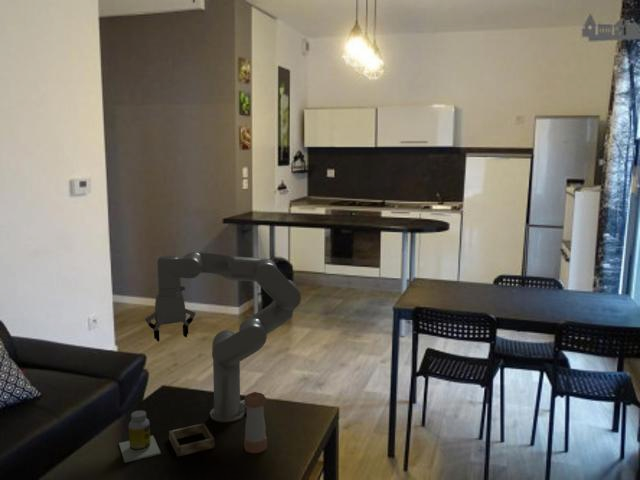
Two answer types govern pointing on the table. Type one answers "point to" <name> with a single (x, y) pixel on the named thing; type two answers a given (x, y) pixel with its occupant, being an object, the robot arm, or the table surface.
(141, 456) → the ceramic tile
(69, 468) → the table surface
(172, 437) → the oak cradle
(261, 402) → the pepper shaker
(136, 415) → the pill bottle
